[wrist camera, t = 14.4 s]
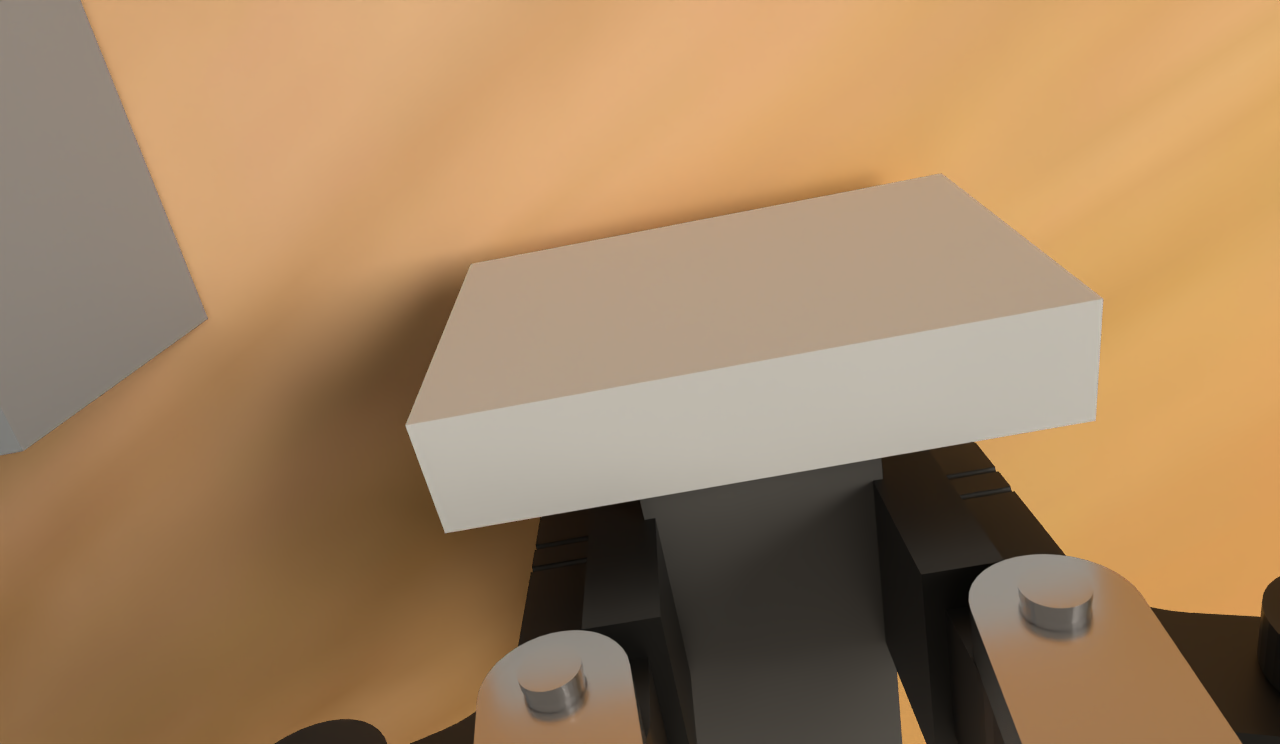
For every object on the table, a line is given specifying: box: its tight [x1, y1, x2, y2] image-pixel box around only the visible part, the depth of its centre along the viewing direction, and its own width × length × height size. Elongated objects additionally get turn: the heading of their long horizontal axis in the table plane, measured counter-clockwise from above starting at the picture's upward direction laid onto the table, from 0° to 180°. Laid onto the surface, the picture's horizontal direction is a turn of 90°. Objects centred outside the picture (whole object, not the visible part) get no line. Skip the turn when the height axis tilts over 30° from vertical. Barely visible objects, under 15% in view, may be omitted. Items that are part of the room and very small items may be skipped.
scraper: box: [405, 173, 1103, 744], centre depth 11 cm, size 8×6×4 cm
